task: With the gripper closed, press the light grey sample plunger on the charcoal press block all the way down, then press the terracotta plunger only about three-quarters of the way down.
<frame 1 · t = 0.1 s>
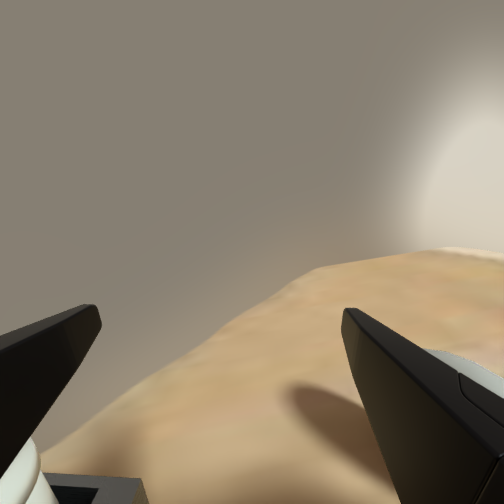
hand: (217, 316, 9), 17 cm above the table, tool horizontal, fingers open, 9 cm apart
donut: (430, 469, 18), on the table
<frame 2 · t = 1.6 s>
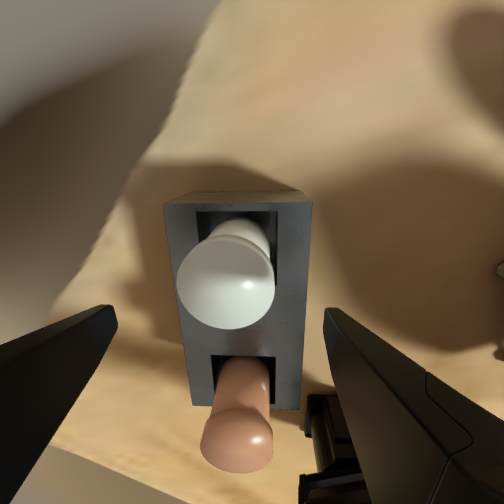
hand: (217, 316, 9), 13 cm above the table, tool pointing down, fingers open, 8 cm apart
sample plunger: (233, 263, 13), point 8 cm above the table, slide at 0.0 cm
terracotta plunger: (241, 406, 17), point 8 cm above the table, slide at 0.0 cm
press block: (247, 283, 23), on the table
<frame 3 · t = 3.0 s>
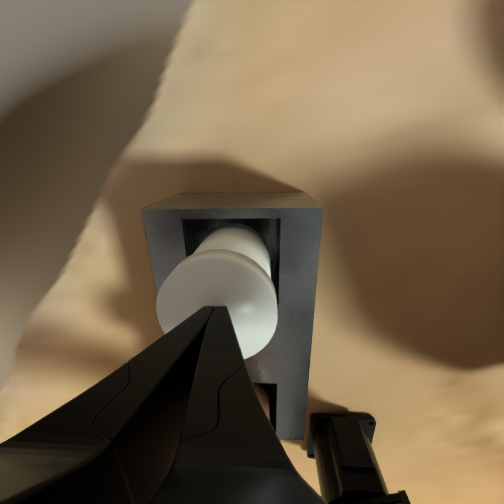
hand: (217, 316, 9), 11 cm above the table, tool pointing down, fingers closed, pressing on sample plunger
sample plunger: (227, 279, 11), point 8 cm above the table, slide at 0.4 cm, touching gripper
terracotta plunger: (237, 443, 15), point 8 cm above the table, slide at 0.0 cm
press block: (245, 295, 21), on the table
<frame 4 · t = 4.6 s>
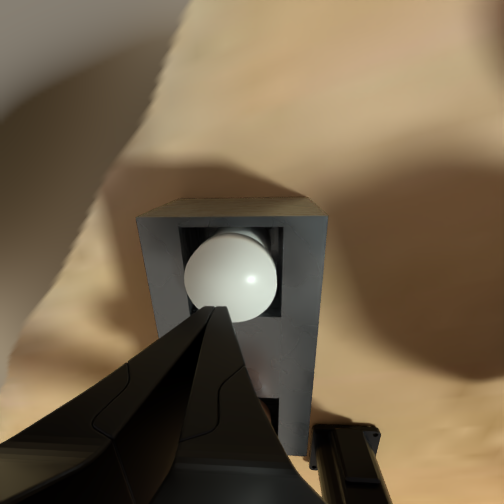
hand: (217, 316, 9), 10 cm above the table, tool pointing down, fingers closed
sample plunger: (237, 260, 14), point 4 cm above the table, slide at 4.1 cm
terracotta plunger: (236, 462, 14), point 8 cm above the table, slide at 0.0 cm
press block: (245, 303, 20), on the table
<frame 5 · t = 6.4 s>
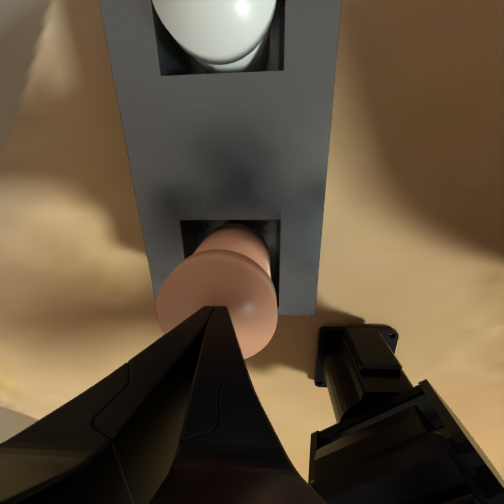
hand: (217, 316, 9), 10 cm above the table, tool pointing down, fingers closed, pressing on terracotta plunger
sample plunger: (225, 18, 11), point 4 cm above the table, slide at 4.1 cm
terracotta plunger: (227, 279, 11), point 8 cm above the table, slide at 0.7 cm, touching gripper
press block: (239, 155, 16), on the table
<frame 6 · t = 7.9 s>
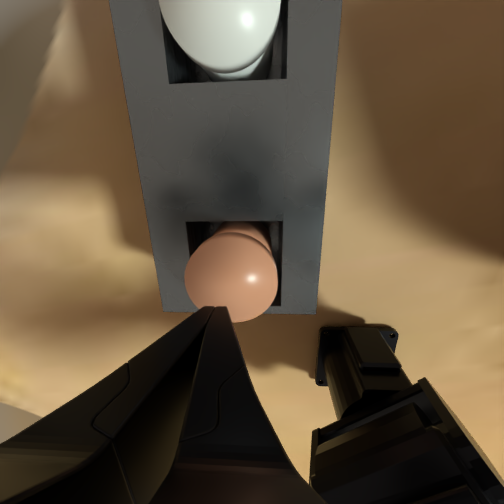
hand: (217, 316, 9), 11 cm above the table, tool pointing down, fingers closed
sample plunger: (230, 29, 11), point 4 cm above the table, slide at 4.1 cm
terracotta plunger: (237, 260, 14), point 5 cm above the table, slide at 3.0 cm
press block: (242, 158, 17), on the table
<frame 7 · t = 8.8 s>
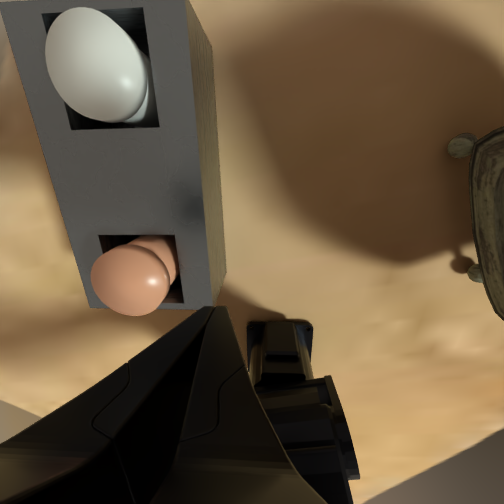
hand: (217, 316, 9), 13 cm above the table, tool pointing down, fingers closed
tabletop clock: (498, 198, 19), on the table
sample plunger: (124, 84, 14), point 4 cm above the table, slide at 4.1 cm
terracotta plunger: (148, 265, 17), point 5 cm above the table, slide at 3.0 cm
press block: (165, 178, 20), on the table
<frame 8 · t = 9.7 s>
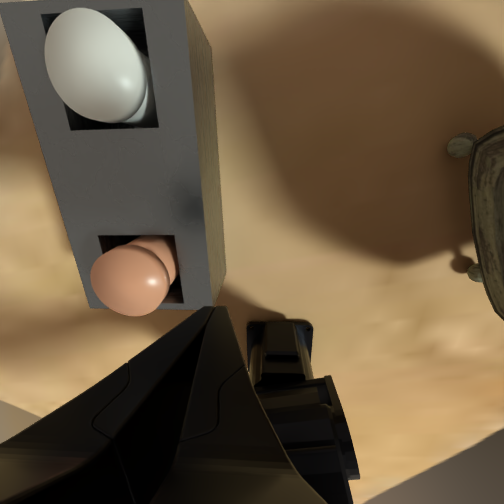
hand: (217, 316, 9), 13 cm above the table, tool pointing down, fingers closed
tabletop clock: (498, 198, 19), on the table
sample plunger: (123, 84, 14), point 4 cm above the table, slide at 4.1 cm
terracotta plunger: (148, 265, 17), point 5 cm above the table, slide at 3.0 cm
press block: (165, 178, 20), on the table
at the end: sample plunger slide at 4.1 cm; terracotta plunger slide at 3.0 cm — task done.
